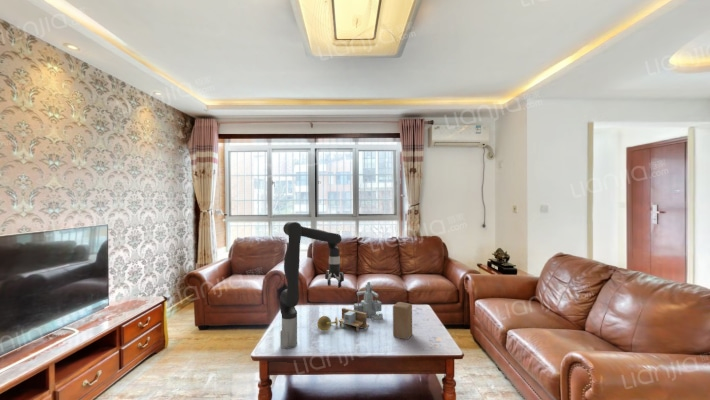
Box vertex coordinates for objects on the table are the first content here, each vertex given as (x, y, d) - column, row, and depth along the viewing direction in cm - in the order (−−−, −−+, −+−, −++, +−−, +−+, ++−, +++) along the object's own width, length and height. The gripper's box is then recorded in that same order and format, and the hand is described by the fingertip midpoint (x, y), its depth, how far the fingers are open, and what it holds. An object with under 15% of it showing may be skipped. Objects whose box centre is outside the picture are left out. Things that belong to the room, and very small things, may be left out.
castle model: (351, 314, 222) (351, 282, 222) (371, 311, 229) (371, 279, 230) (362, 323, 206) (361, 288, 206) (382, 318, 213) (382, 285, 214)
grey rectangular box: (349, 324, 194) (349, 315, 194) (343, 323, 196) (343, 314, 197) (355, 320, 200) (355, 312, 200) (349, 319, 203) (349, 310, 203)
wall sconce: (335, 315, 208) (339, 313, 185) (336, 329, 204) (341, 329, 182) (316, 317, 205) (318, 316, 183) (316, 331, 201) (319, 332, 179)
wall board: (360, 332, 191) (360, 317, 192) (336, 325, 202) (336, 311, 202) (368, 326, 201) (368, 311, 201) (345, 320, 212) (345, 306, 212)
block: (407, 340, 179) (407, 308, 179) (392, 336, 184) (392, 305, 185) (412, 334, 188) (412, 303, 188) (398, 330, 193) (398, 301, 193)
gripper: (322, 262, 195) (322, 286, 195) (339, 264, 187) (339, 289, 187) (329, 260, 201) (329, 283, 201) (346, 262, 194) (346, 287, 193)
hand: (334, 286), depth 194 cm, fingers open, 8 cm apart
